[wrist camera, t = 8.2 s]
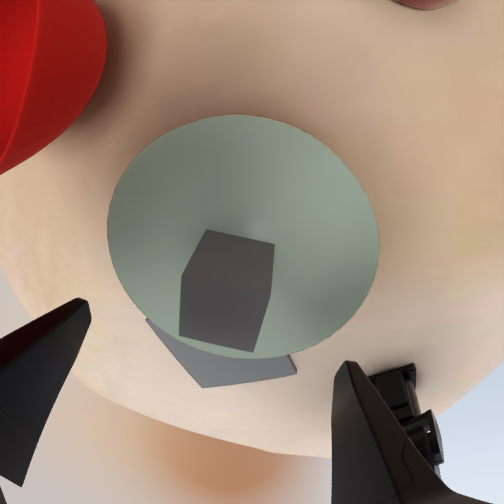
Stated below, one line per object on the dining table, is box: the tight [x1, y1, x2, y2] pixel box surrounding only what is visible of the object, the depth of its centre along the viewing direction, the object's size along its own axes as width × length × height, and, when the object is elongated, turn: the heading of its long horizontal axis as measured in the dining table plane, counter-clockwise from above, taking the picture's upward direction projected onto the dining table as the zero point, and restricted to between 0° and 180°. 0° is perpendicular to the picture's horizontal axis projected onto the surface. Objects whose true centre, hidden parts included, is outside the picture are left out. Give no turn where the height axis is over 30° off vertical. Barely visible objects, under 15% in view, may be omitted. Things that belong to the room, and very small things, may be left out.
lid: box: [107, 115, 379, 359], centre depth 12 cm, size 13×13×4 cm
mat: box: [146, 318, 297, 388], centre depth 27 cm, size 11×11×1 cm
